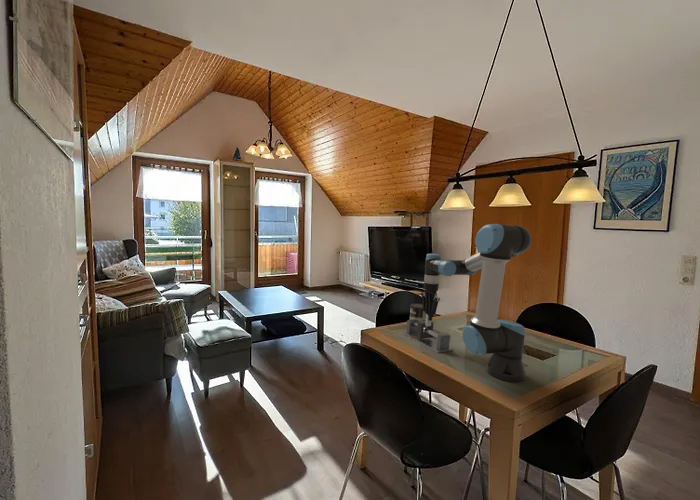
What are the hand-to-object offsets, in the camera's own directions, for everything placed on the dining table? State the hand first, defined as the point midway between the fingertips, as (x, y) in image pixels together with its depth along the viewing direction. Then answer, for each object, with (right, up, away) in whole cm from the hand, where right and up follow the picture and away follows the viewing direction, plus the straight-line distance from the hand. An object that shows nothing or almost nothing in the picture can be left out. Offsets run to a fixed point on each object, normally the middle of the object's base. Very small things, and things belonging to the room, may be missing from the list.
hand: (428, 325), depth 181 cm
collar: (-1, -7, +3) cm, 7 cm away
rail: (-1, -9, +1) cm, 9 cm away
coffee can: (-1, -7, +24) cm, 25 cm away
